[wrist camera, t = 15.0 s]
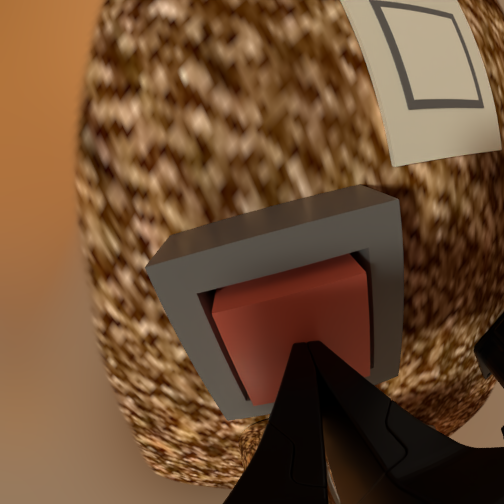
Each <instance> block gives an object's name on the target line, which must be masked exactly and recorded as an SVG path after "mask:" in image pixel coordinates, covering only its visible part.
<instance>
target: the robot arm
mask: <svg viewBox="0 0 504 504" xmlns="http://www.w3.org/2000/svg"><path fill="white" fill-rule="evenodd" d="M474 353H475V356H476V358H477V361H478V364H479V367H480V369H481V372H482V375H483V377H484V378H485V379H487V378H488V377H489V376H490V375H491V374H493V376H494V377H495V378H496V379H497V381H498V382H499V383H500V384H501V386H502V387H503V388H504V314H503V315H502V317H501V318H500V319H499V320H498V321H497V323H496V324H495V325H494V326H493V327H492V328H491V330H490V331H489V332H488V333H487V334H486V335H485V336H484V337H483V339H482V340H481V341H480V342H479V343H478V344H477V345H476V346H475V348H474ZM501 431H502V434H503V436H504V426H503V427H502V428H501ZM325 452H326V455H327V459H328V462H329V465H330V469H331V472H332V476H333V479H334V483H335V486H336V489H337V493H338V496H339V500H340V503H341V504H504V447H495V448H474V447H469V446H465V445H463V444H460V443H458V442H456V441H454V440H452V439H451V438H449V437H447V436H446V435H444V434H442V433H440V432H439V431H437V430H435V429H433V428H432V427H430V426H428V425H427V424H425V423H423V422H422V421H420V420H419V419H417V418H416V417H414V416H413V415H411V414H410V413H409V412H407V411H406V410H405V409H403V408H402V407H401V406H399V405H398V404H397V403H395V402H394V401H393V400H392V401H391V399H390V398H389V397H388V396H387V395H385V394H384V393H383V392H382V391H380V390H379V389H378V388H377V387H375V386H374V385H373V384H372V383H371V382H369V381H368V380H367V379H366V378H364V377H363V376H362V375H361V374H359V373H358V372H357V371H356V370H355V369H353V368H352V367H351V366H350V365H349V364H347V363H346V362H345V361H344V360H343V359H341V358H340V357H339V356H338V355H337V354H335V353H334V352H333V351H332V350H331V349H329V348H328V347H327V346H326V345H325V344H323V343H322V342H321V341H319V340H316V341H309V342H307V343H305V342H300V343H294V344H293V345H292V348H291V352H290V355H289V358H288V362H287V365H286V368H285V371H284V374H283V378H282V381H281V384H280V387H279V390H278V393H277V396H276V399H275V402H274V405H273V408H272V411H271V414H270V417H269V420H268V424H267V425H266V428H265V430H264V433H263V436H262V438H261V440H260V443H259V445H258V447H257V449H256V451H255V453H254V455H253V457H252V459H251V461H250V463H249V464H248V466H247V468H246V469H245V471H244V472H243V474H242V476H241V477H240V479H239V480H238V482H237V484H236V485H235V487H234V488H233V490H232V491H231V493H230V494H229V496H228V497H227V498H226V500H225V501H224V503H223V504H329V500H328V489H327V487H328V486H327V471H326V458H325Z"/></svg>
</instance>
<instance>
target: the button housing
mask: <svg viewBox="0 0 504 504" xmlns="http://www.w3.org/2000/svg"><path fill="white" fill-rule="evenodd" d="M348 253H349V254H350V255H351V256H352V257H353V258H354V259H355V260H356V262H357V263H358V264H359V265H360V266H361V267H362V268H363V269H364V270H365V272H366V276H367V288H368V303H369V323H370V376H367V377H364V378H366V379H367V380H368V381H369V382H371V383H372V384H373V385H376V384H378V383H381V382H384V381H386V380H389V379H391V378H394V377H396V376H398V373H399V364H400V355H401V344H402V331H403V311H404V259H403V239H402V226H401V215H400V205H399V199H397V198H395V197H392V196H389V195H387V194H384V193H382V192H379V191H376V190H374V189H371V188H368V187H366V186H363V185H356V186H351V187H347V188H343V189H339V190H335V191H330V192H326V193H322V194H318V195H314V196H310V197H306V198H302V199H298V200H294V201H290V202H287V203H283V204H279V205H275V206H271V207H268V208H264V209H260V210H257V211H253V212H249V213H246V214H242V215H238V216H235V217H231V218H228V219H224V220H221V221H217V222H214V223H211V224H207V225H204V226H200V227H197V228H194V229H190V230H187V231H184V232H180V233H177V234H174V235H171V236H169V237H168V239H167V240H166V241H165V242H164V244H163V245H162V246H161V247H160V249H159V250H158V251H157V253H156V254H155V255H154V256H153V258H152V259H151V260H150V261H149V263H148V264H147V265H146V267H145V269H146V271H147V273H148V275H149V278H150V280H151V282H152V284H153V287H154V289H155V291H156V293H157V295H158V297H159V300H160V302H161V304H162V306H163V308H164V310H165V312H166V314H167V316H168V318H169V320H170V322H171V324H172V326H173V328H174V330H175V332H176V334H177V336H178V338H179V340H180V341H181V343H182V345H183V347H184V349H185V351H186V353H187V354H188V356H189V358H190V360H191V362H192V363H193V365H194V367H195V369H196V370H197V372H198V374H199V376H200V377H201V379H202V381H203V382H204V384H205V386H206V387H207V389H208V391H209V392H210V394H211V396H212V397H213V399H214V401H215V402H216V404H217V405H218V407H219V408H220V410H221V412H222V413H223V415H224V416H225V418H226V419H227V420H235V419H242V418H248V417H255V416H260V415H266V414H271V411H272V408H273V405H274V402H273V403H268V404H263V405H257V406H253V404H252V402H251V399H250V397H249V395H248V393H247V391H246V389H245V387H244V385H243V383H242V381H241V379H240V377H239V374H238V372H237V370H236V368H235V366H234V364H233V361H232V359H231V357H230V355H229V353H228V350H227V348H226V346H225V344H224V341H223V339H222V337H221V335H220V332H219V330H218V328H217V325H216V323H215V321H214V318H213V316H212V308H213V303H214V298H215V292H216V289H217V288H221V287H225V286H229V285H233V284H237V283H241V282H245V281H249V280H252V279H256V278H260V277H264V276H268V275H272V274H275V273H279V272H283V271H287V270H290V269H294V268H298V267H301V266H305V265H309V264H312V263H316V262H319V261H323V260H327V259H330V258H334V257H337V256H341V255H344V254H348Z"/></svg>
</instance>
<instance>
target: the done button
mask: <svg viewBox="0 0 504 504" xmlns="http://www.w3.org/2000/svg"><path fill="white" fill-rule="evenodd" d="M212 316H213V318H214V321H215V323H216V325H217V328H218V330H219V332H220V335H221V337H222V339H223V341H224V344H225V346H226V348H227V350H228V353H229V355H230V357H231V359H232V361H233V364H234V366H235V368H236V370H237V372H238V374H239V377H240V379H241V381H242V383H243V385H244V387H245V389H246V391H247V393H248V395H249V397H250V399H251V402H252V404H253V406H257V405H263V404H268V403H273V402H275V399H276V396H277V393H278V390H279V387H280V384H281V381H282V378H283V374H284V371H285V368H286V365H287V362H288V358H289V355H290V352H291V348H292V345H293V344H294V343H300V342H305V343H307V342H309V341H316V340H319V341H321V342H322V343H323V344H325V345H326V346H327V347H328V348H329V349H331V350H332V351H333V352H334V353H335V354H337V355H338V356H339V357H340V358H341V359H343V360H344V361H345V362H346V363H347V364H349V365H350V366H351V367H352V368H353V369H355V370H356V371H357V372H358V373H359V374H361V375H362V376H363V377H367V376H370V323H369V303H368V288H367V276H366V272H365V270H364V269H363V268H362V267H361V266H360V265H359V264H358V263H357V262H356V260H355V259H354V258H353V257H352V256H351V255H350V254H349V253H348V254H344V255H341V256H337V257H334V258H330V259H327V260H323V261H319V262H316V263H312V264H309V265H305V266H301V267H298V268H294V269H290V270H287V271H283V272H279V273H275V274H272V275H268V276H264V277H260V278H256V279H252V280H249V281H245V282H241V283H237V284H233V285H229V286H225V287H221V288H217V289H216V292H215V298H214V303H213V308H212Z"/></svg>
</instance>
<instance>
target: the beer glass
mask: <svg viewBox="0 0 504 504" xmlns="http://www.w3.org/2000/svg"><path fill="white" fill-rule="evenodd" d="M268 420H269V419H267V420H263V421H260V422H258V423H255V424H253V425H251V426H250V427H248V428H247V429H245V430H244V431H243V432H242V433H241V435H240V437H239V440H238V443H239V450H240V454H241V458H242V463H243V467H244V471H245V469H246V468H247V466H248V464H249V463H250V461H251V459H252V457H253V455H254V453H255V451H256V449H257V447H258V445H259V443H260V440H261V438H262V436H263V433H264V430H265V428H266V425H267V424H268ZM325 458H326V471H327V486H328V487H327V489H328V500H329V504H341V503H340V500H339V496H338V493H337V491H336V489H335V486H334V484H333V481H332V478H331V474H330V471H329V465H328V459H327V455H326V452H325Z"/></svg>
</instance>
